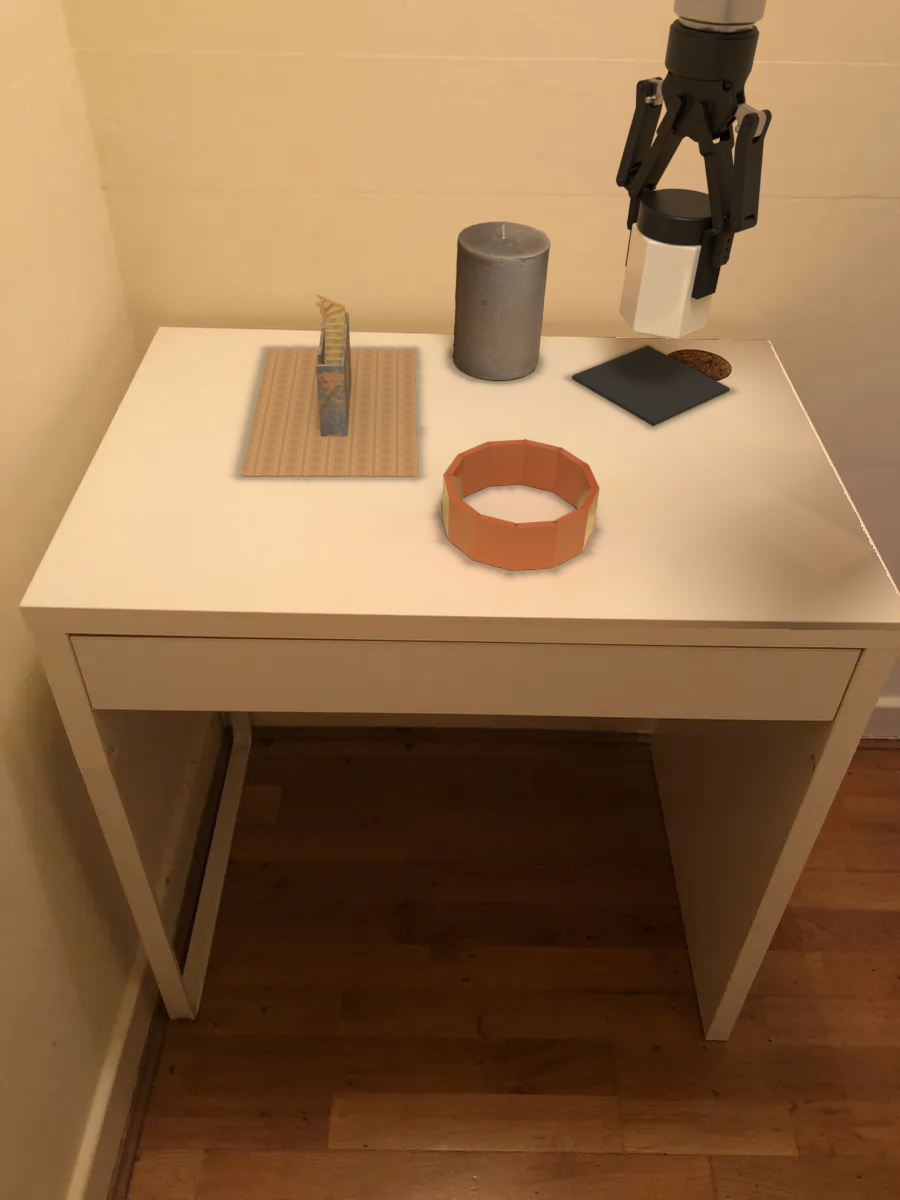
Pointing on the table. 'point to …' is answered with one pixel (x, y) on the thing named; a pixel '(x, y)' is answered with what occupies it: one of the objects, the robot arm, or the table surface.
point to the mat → (650, 384)
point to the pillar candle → (499, 299)
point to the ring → (519, 540)
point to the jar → (666, 264)
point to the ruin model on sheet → (335, 409)
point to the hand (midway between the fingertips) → (669, 279)
